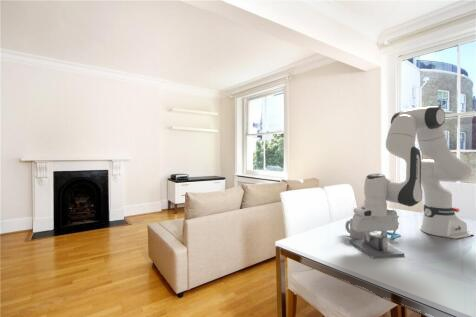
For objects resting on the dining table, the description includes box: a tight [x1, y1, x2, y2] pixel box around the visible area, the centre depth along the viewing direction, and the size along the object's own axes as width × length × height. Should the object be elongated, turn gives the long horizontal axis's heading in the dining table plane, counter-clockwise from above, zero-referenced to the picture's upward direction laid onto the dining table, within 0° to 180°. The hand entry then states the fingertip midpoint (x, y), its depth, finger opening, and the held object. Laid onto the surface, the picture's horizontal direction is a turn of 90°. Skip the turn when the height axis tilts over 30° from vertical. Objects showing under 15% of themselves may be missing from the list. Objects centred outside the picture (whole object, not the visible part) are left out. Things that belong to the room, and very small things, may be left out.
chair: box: [385, 214, 401, 240], centre depth 120 cm, size 8×8×12 cm
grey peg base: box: [349, 237, 405, 259], centre depth 106 cm, size 14×17×7 cm
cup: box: [345, 217, 364, 240], centre depth 120 cm, size 7×10×9 cm
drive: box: [364, 231, 386, 250], centre depth 105 cm, size 4×9×5 cm, turn 6°
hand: (375, 240), depth 106 cm, fingers closed on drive, 4 cm apart
